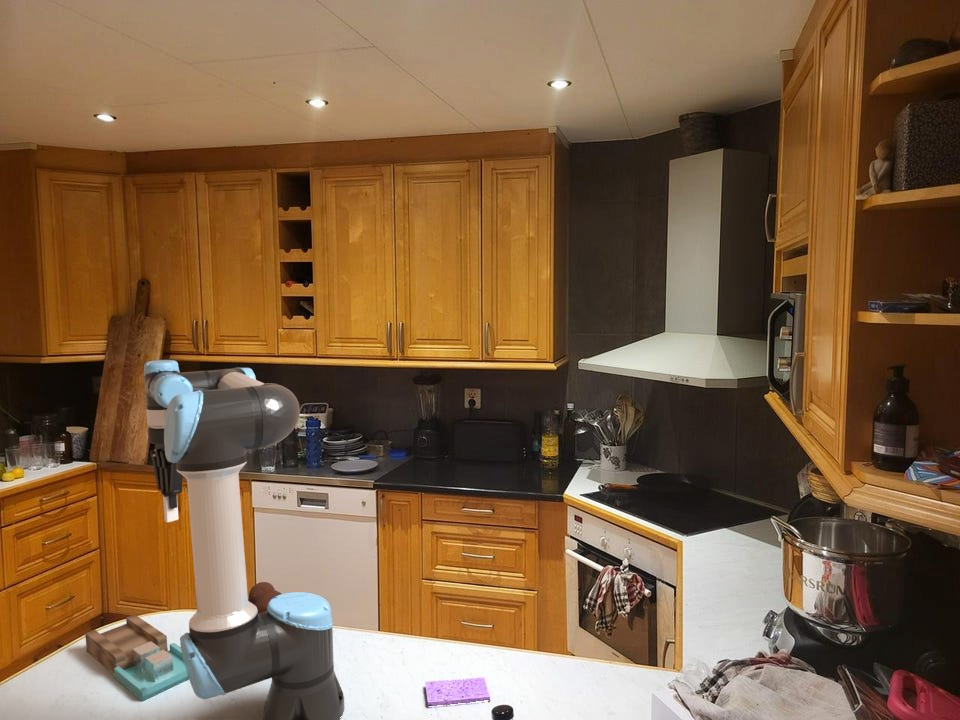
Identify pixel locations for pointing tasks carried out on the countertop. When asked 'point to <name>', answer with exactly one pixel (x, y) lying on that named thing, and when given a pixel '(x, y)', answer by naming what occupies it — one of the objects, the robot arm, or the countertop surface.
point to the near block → (159, 665)
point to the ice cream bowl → (262, 595)
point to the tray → (146, 686)
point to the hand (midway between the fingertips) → (171, 520)
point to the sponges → (456, 691)
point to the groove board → (123, 642)
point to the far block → (143, 654)
